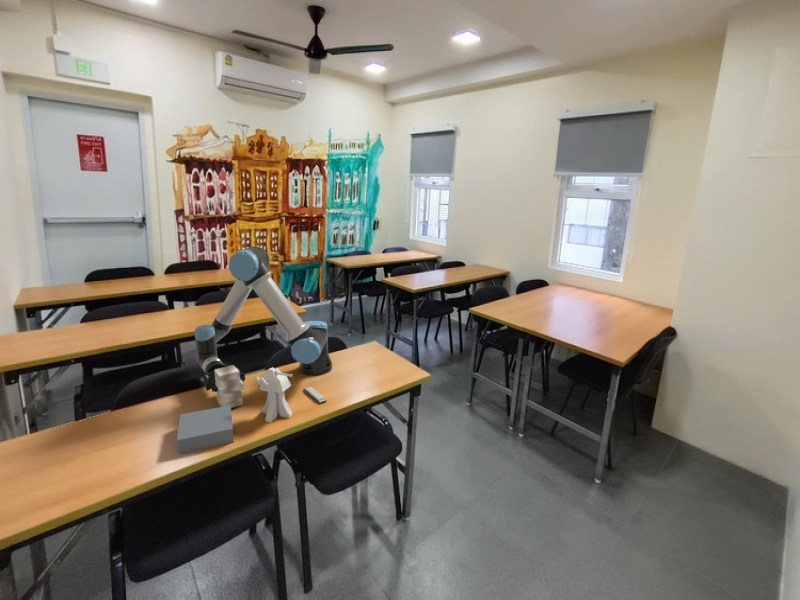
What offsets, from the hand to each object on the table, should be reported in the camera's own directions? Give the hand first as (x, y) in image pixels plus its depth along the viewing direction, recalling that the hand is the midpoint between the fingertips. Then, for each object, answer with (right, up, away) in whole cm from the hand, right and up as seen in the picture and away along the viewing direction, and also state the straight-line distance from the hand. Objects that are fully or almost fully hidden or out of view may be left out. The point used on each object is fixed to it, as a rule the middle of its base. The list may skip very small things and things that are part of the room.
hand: (232, 389), depth 145 cm
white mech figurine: (+17, -10, +1) cm, 19 cm away
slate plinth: (-3, -12, -12) cm, 18 cm away
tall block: (-3, -7, +6) cm, 9 cm away
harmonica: (+27, -7, +15) cm, 32 cm away
